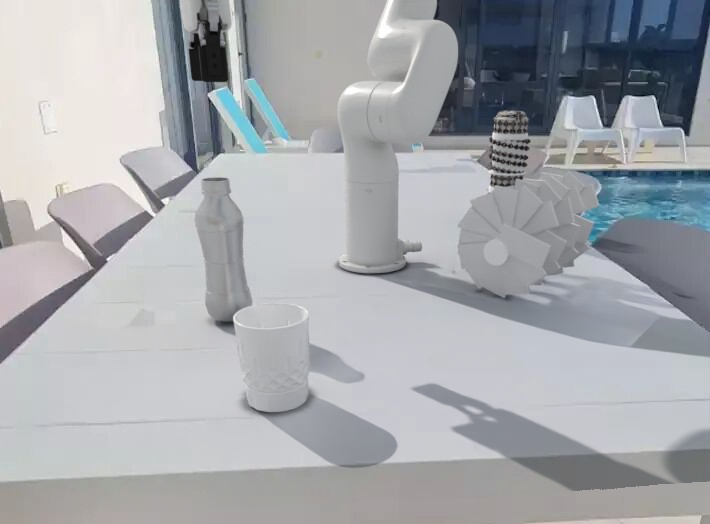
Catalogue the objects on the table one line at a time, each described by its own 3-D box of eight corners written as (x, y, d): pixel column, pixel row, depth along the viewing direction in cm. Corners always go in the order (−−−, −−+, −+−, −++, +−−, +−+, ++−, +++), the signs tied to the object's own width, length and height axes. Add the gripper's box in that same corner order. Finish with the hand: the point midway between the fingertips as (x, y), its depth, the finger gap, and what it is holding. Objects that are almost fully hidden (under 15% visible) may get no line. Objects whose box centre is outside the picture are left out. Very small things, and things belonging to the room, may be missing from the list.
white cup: (324, 388, 74) (321, 307, 69) (293, 421, 67) (287, 333, 63) (264, 378, 76) (257, 298, 72) (228, 408, 69) (218, 323, 65)
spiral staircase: (467, 318, 106) (529, 274, 124) (564, 293, 94) (617, 249, 112) (427, 213, 102) (496, 184, 120) (522, 174, 90) (584, 148, 109)
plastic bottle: (243, 328, 90) (228, 184, 82) (199, 325, 92) (180, 182, 83) (260, 313, 96) (248, 176, 88) (218, 309, 97) (203, 174, 89)
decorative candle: (513, 229, 146) (523, 113, 136) (477, 224, 151) (484, 111, 140) (528, 222, 153) (539, 111, 143) (493, 217, 158) (501, 109, 147)
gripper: (239, -84, 72) (251, 82, 79) (214, -58, 86) (226, 80, 93) (169, -91, 69) (188, 82, 76) (156, -63, 83) (172, 80, 90)
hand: (209, 81), depth 84 cm, fingers open, 9 cm apart
